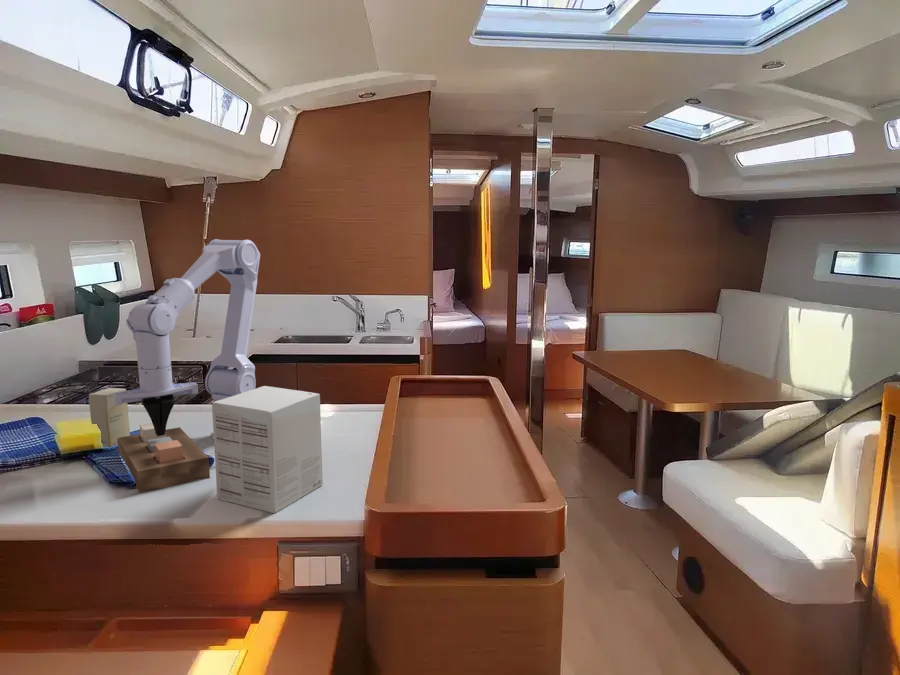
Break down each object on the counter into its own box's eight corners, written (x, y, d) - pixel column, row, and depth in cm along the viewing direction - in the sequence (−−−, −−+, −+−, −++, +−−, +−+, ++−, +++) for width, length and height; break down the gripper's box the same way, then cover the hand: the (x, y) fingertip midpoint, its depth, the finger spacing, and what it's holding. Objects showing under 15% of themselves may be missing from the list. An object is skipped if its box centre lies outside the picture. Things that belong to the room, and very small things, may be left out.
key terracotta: (178, 457, 117) (177, 439, 116) (183, 463, 114) (182, 445, 113) (155, 461, 115) (154, 444, 114) (160, 468, 111) (159, 450, 111)
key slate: (170, 453, 123) (169, 436, 122) (175, 458, 120) (173, 441, 119) (148, 457, 120) (147, 440, 120) (152, 463, 117) (151, 445, 117)
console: (180, 445, 132) (179, 427, 132) (209, 477, 115) (208, 457, 114) (118, 456, 125) (117, 437, 125) (139, 493, 108) (137, 471, 107)
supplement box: (268, 472, 118) (264, 384, 115) (324, 485, 112) (321, 392, 109) (215, 499, 106) (209, 401, 103) (274, 514, 100) (270, 411, 97)
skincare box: (110, 451, 128) (105, 395, 126) (92, 450, 129) (87, 394, 127) (131, 441, 134) (127, 388, 132) (114, 440, 135) (109, 386, 133)
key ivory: (162, 437, 128) (160, 421, 127) (166, 443, 125) (165, 426, 124) (141, 441, 126) (139, 425, 125) (144, 446, 122) (143, 430, 122)
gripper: (189, 358, 124) (193, 422, 127) (108, 367, 116) (114, 435, 118) (198, 364, 119) (203, 431, 121) (114, 374, 110) (121, 446, 112)
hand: (160, 434), depth 119 cm, fingers closed
